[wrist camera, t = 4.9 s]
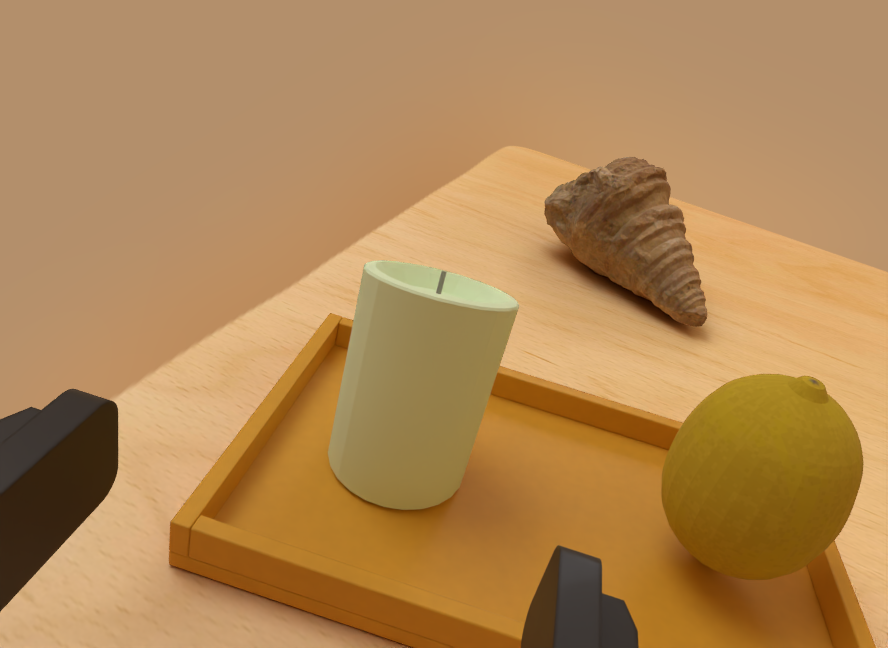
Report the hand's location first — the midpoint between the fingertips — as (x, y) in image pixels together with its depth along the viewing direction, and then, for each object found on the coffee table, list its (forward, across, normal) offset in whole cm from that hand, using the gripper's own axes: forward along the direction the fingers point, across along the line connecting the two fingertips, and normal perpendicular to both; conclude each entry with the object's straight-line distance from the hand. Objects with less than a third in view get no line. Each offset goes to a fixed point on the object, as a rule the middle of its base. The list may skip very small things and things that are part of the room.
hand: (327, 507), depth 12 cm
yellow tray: (+11, +5, -9) cm, 15 cm away
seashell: (+36, +8, -9) cm, 38 cm away
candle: (+11, 0, -8) cm, 14 cm away
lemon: (+11, +11, -8) cm, 18 cm away
